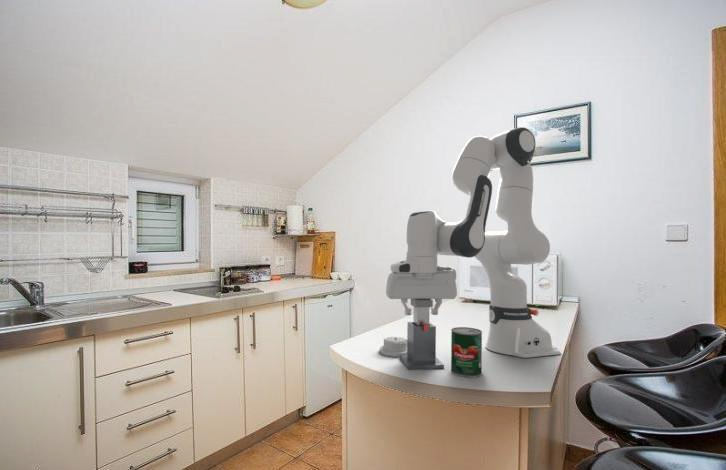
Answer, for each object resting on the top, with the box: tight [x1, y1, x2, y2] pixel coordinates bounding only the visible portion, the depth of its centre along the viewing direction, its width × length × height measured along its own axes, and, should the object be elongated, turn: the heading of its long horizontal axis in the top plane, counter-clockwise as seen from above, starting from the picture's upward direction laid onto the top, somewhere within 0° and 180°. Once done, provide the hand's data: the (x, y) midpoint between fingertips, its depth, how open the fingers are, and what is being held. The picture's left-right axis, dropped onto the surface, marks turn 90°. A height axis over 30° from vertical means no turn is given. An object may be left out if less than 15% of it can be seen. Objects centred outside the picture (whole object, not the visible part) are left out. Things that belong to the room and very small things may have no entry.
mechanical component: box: [379, 336, 407, 358], centre depth 110 cm, size 10×4×10 cm
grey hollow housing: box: [399, 321, 445, 371], centre depth 100 cm, size 10×10×12 cm
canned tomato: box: [450, 326, 483, 378], centre depth 93 cm, size 8×8×11 cm
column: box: [410, 299, 434, 326], centre depth 100 cm, size 5×5×17 cm
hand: (421, 314), depth 100 cm, fingers open, 6 cm apart
